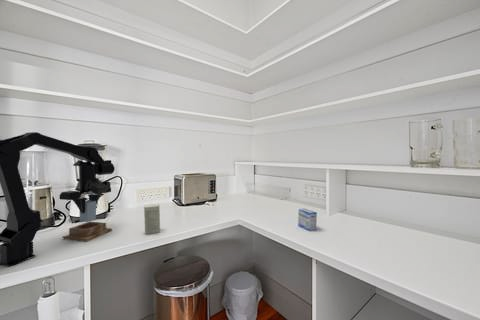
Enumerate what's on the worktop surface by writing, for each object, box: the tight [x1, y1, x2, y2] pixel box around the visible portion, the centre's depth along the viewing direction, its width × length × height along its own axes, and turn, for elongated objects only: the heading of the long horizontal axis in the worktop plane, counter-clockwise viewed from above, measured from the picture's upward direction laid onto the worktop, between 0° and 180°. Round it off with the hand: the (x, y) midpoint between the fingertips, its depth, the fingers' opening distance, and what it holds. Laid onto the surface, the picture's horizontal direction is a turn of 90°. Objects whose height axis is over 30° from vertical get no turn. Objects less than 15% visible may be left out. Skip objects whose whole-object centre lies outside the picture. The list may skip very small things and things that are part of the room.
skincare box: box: [143, 203, 161, 235], centre depth 89 cm, size 6×4×12 cm
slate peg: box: [79, 199, 97, 223], centre depth 85 cm, size 4×4×8 cm
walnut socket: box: [62, 221, 113, 243], centre depth 85 cm, size 12×12×4 cm
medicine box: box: [297, 207, 318, 232], centre depth 95 cm, size 8×4×9 cm, turn 27°
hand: (87, 211), depth 85 cm, fingers closed on slate peg, 4 cm apart
